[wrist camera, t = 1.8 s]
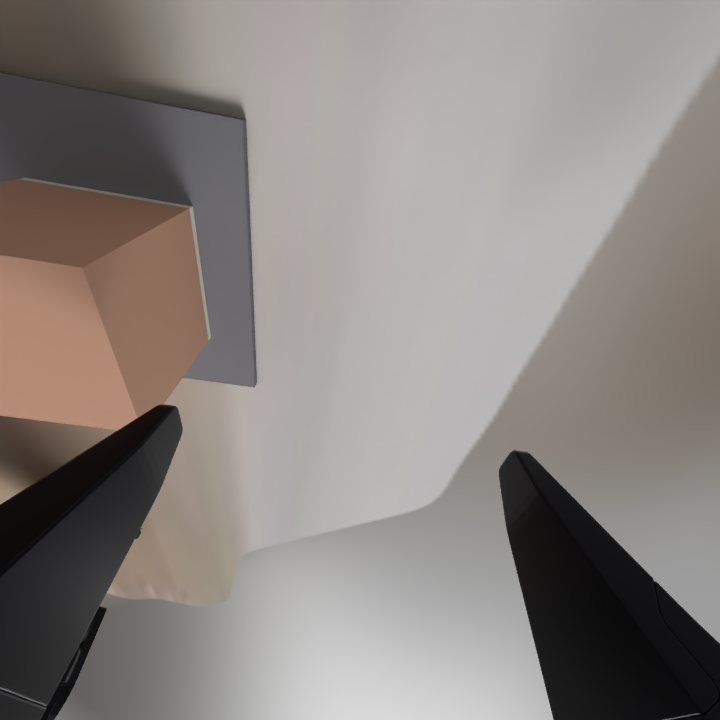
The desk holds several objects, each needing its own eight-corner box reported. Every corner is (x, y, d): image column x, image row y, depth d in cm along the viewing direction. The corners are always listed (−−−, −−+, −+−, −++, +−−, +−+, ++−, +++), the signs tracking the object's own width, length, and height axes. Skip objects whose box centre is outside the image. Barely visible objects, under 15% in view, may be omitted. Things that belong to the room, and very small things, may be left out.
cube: (211, 336, 16) (143, 433, 11) (82, 317, 16) (-44, 410, 11) (193, 206, 13) (82, 267, 8) (25, 177, 12) (-200, 223, 7)
